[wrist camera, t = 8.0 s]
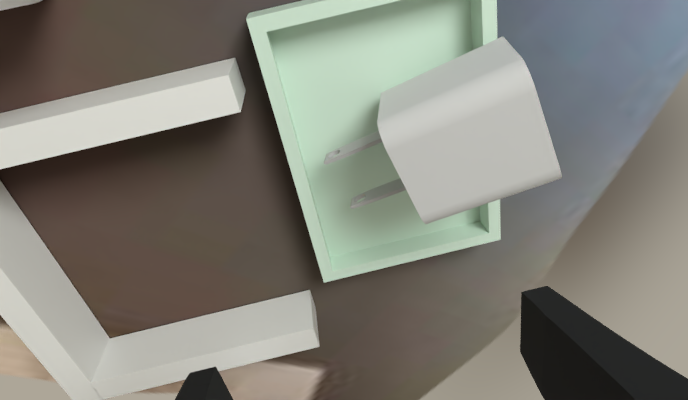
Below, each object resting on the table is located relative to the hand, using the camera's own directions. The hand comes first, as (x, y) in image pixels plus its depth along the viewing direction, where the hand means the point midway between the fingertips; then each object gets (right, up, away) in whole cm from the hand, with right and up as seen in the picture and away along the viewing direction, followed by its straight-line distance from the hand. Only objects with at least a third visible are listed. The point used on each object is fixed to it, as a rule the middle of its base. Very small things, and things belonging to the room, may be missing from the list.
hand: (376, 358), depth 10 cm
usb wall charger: (+2, +7, +7) cm, 10 cm away
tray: (+1, +6, +7) cm, 10 cm away
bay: (-9, +2, +8) cm, 12 cm away
